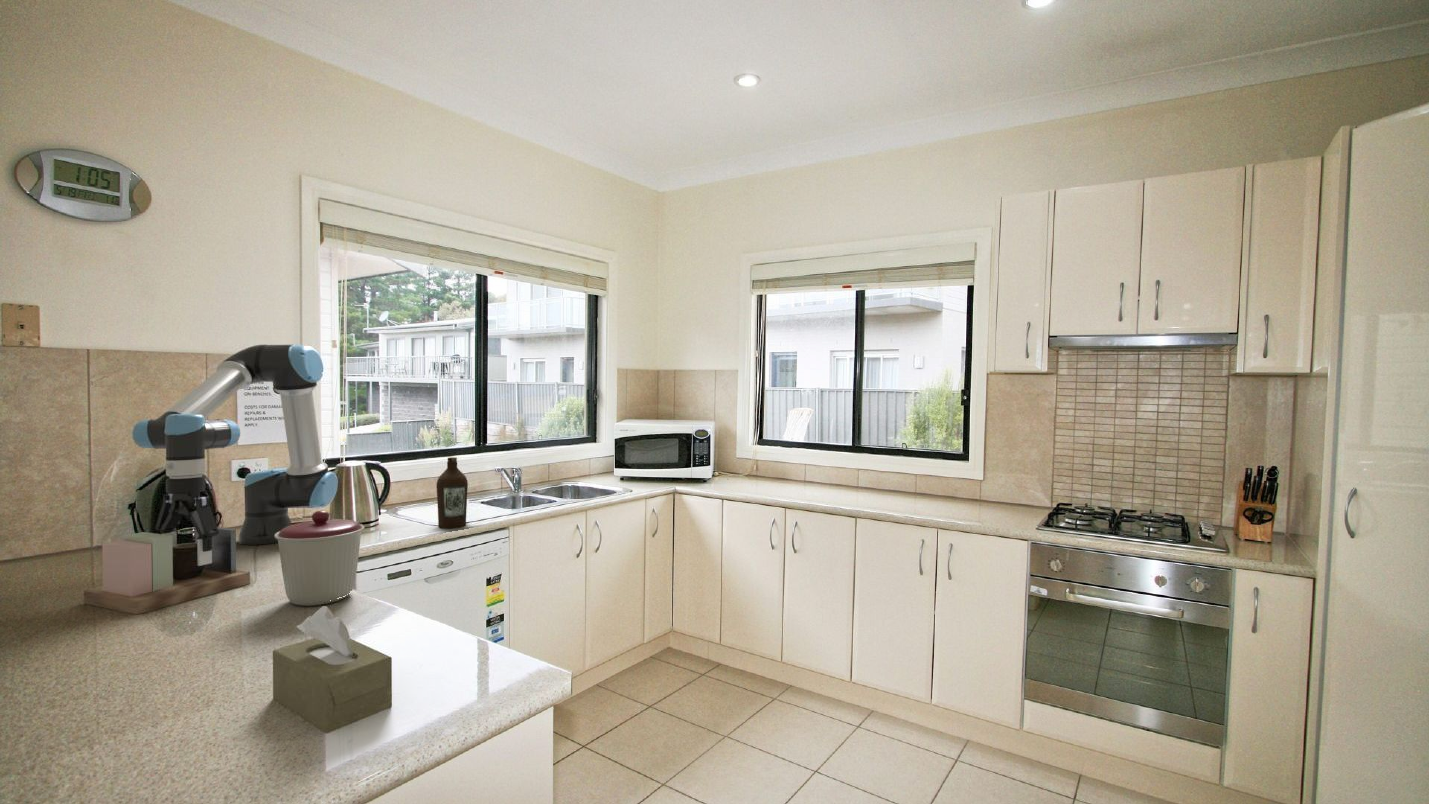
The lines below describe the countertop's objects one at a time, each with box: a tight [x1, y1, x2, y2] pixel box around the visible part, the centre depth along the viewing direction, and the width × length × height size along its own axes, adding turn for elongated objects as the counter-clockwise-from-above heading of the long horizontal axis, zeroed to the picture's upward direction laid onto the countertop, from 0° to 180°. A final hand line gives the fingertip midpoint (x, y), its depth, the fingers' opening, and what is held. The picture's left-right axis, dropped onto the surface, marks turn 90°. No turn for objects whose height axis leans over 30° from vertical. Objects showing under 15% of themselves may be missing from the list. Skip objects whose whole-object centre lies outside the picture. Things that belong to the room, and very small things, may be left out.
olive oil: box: [435, 456, 469, 529], centre depth 233 cm, size 11×11×25 cm
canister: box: [274, 510, 365, 607], centre depth 151 cm, size 18×18×21 cm
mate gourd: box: [173, 542, 204, 579], centre depth 158 cm, size 7×8×10 cm
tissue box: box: [272, 605, 393, 734], centre depth 101 cm, size 19×10×16 cm, turn 55°
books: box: [101, 531, 173, 597], centre depth 148 cm, size 8×11×12 cm
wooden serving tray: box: [83, 569, 251, 615], centre depth 155 cm, size 24×20×3 cm
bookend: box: [194, 526, 237, 574], centre depth 164 cm, size 1×14×11 cm, turn 69°
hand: (187, 561), depth 158 cm, fingers open, 13 cm apart
